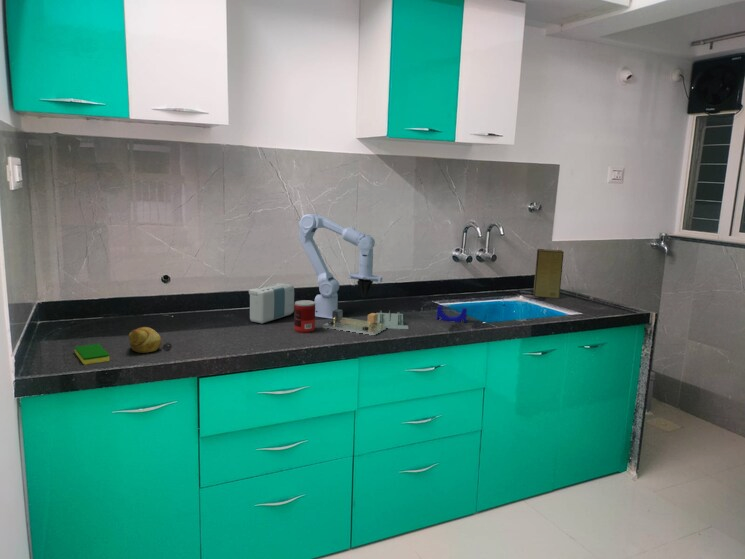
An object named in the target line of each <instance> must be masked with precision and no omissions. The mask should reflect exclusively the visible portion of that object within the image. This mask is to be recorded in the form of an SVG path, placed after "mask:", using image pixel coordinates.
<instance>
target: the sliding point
mask: <svg viewBox="0 0 745 559" xmlns="http://www.w3.org/2000/svg"><path fill="white" fill-rule="evenodd" d="M376 313H377V312H376ZM376 313H375V312H371V313H369V314H367V321H368V323H369V327H371V323H375V322H377V320H378V314H376Z"/></svg>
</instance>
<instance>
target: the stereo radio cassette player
mask: <svg viewBox="0 0 745 559" xmlns="http://www.w3.org/2000/svg"><path fill="white" fill-rule="evenodd" d="M280 269H281V267H279V268H278V269H277V270H276V271H275V272H273V273H272V274H271V275H270V277H268V278H267V279H266V281H264V282H263V283H262V284H261V285H260V286H259V287H257V288H251V289H248V294H249V320H250V322H252V323H258V324H261V325H263V324H265V323H268V322H271V321H274V320H277V319H281V318H283V317H287V316H290V315H292V314H293V313H294V312H295V287H294V285H293V284H288V283H281V282H277V283H274V284H269V285H265V284H266V283H267V282H269V280H270V279H271V278H272V277H273V276H275V274H276V273H277V272H279V270H280Z"/></svg>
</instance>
